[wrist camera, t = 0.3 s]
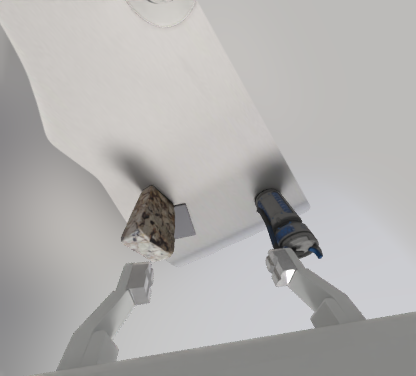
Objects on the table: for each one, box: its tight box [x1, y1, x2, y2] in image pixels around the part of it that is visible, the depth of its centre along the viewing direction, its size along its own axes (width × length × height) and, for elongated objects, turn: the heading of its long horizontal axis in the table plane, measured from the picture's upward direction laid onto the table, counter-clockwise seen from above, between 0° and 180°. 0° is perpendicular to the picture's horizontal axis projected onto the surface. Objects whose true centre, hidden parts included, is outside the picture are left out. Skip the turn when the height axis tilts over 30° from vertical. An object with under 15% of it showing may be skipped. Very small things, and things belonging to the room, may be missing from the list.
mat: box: [174, 204, 196, 239], centre depth 64 cm, size 18×18×1 cm
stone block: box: [121, 186, 175, 262], centre depth 47 cm, size 13×7×20 cm, turn 37°
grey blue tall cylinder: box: [255, 189, 323, 259], centre depth 53 cm, size 10×13×25 cm
